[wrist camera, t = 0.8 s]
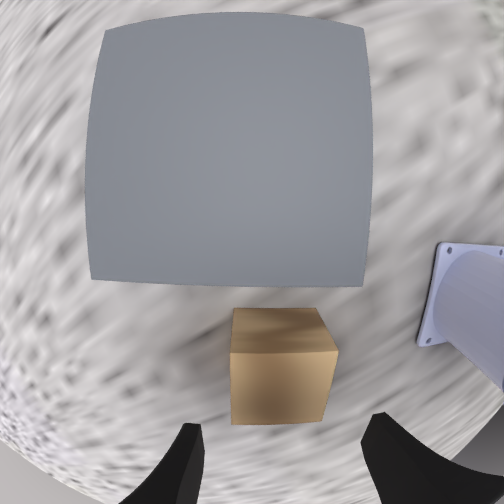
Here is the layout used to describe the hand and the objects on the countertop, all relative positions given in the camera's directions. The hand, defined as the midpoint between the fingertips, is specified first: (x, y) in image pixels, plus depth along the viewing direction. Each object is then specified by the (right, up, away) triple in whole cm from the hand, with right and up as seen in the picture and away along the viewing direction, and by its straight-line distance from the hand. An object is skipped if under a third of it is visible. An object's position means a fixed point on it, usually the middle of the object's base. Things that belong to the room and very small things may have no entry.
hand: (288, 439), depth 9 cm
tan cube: (0, +2, +8) cm, 8 cm away
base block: (-3, +14, +5) cm, 15 cm away
